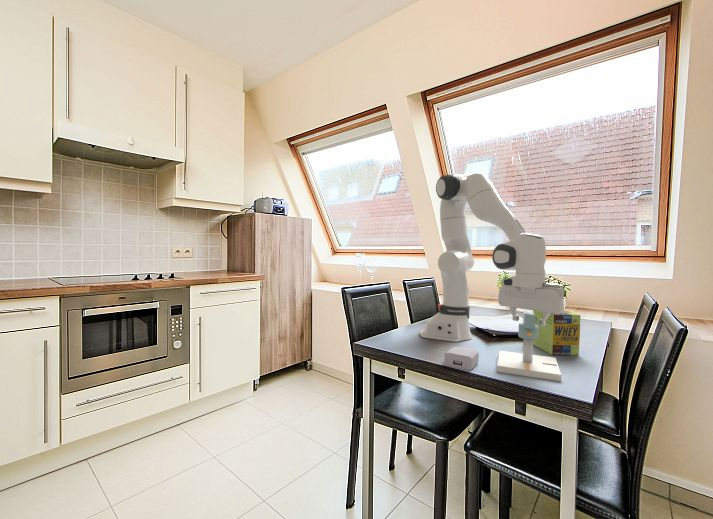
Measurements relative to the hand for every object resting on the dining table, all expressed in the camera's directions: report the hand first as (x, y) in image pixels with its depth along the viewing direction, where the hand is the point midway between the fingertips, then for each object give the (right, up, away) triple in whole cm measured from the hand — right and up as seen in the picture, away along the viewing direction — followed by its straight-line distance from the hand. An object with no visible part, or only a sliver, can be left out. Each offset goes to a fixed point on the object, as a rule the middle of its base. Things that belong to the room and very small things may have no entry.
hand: (528, 322), depth 116 cm
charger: (-20, -15, +6) cm, 26 cm away
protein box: (+21, -15, +22) cm, 34 cm away
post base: (0, -15, +1) cm, 15 cm away
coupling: (0, -5, 0) cm, 5 cm away
